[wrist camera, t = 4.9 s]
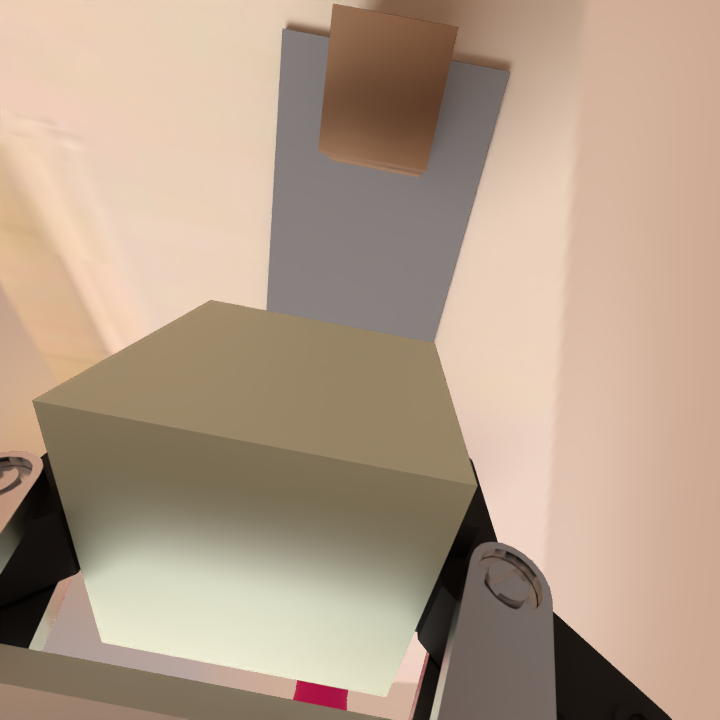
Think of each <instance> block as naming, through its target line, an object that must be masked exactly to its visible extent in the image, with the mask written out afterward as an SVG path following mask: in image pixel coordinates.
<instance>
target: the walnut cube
mask: <svg viewBox="0 0 720 720" xmlns="http://www.w3.org/2000/svg"><path fill="white" fill-rule="evenodd" d="M457 31H458V27H454V26H449V25H443V24H438V23H433V22H427V21H422V20H417V19H412V18H406V17H401V16H396V15H390V14H385V13H380V12H375V11H369V10H364V9H359V8H353V7H348V6H343V5H338V4H333V9H332V19H331V28H330V38H329V48H328V58H327V68H326V77H325V87H324V97H323V107H322V116H321V126H320V136H319V146H318V150H319V151H320V152H322V153H323V154H325V155H326V156H327V157H329V158H330V159H332V160H333V161H334V162H340V163H345V164H350V165H355V166H361V167H366V168H371V169H376V170H382V171H387V172H392V173H397V174H403V175H408V176H413V177H419V176H421V175H422V174H423V173H424V172H425V171H426V169H427V165H428V160H429V156H430V152H431V147H432V143H433V138H434V134H435V129H436V125H437V120H438V116H439V111H440V107H441V102H442V98H443V93H444V89H445V84H446V80H447V75H448V71H449V66H450V62H451V57H452V53H453V48H454V44H455V40H456V35H457Z"/></svg>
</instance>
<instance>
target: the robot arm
mask: <svg viewBox="0 0 720 720" xmlns="http://www.w3.org/2000/svg"><path fill="white" fill-rule="evenodd" d="M469 459H470V458H469ZM470 462H471V465H472V469H473V472H474V475H475V479H476V482H477V485H478V486H477V488H476V491H475V493H474V495H473V498H472V500H471V502H470V504H469V507H468V509H467V511H466V514H465V516H464V518H463V521H462V523H461V525H460V528H459V530H458V532H457V534H456V537H455V539H454V541H453V544H452V546H451V548H450V551H449V553H448V555H447V558H446V560H445V562H444V564H443V567H442V569H441V571H440V574H439V576H438V578H437V581H436V583H435V585H434V588H433V590H432V592H431V595H430V597H429V599H428V601H427V604H426V606H425V608H424V611H423V613H422V615H421V618H420V620H419V622H418V625H417V627H416V629H415V631H416V632H417V633H418V640H419V641H420V643H421V644H422V645H423V647H424V648H425V649H426V650H427V653H426V656H425V660H424V664H423V668H422V671H421V675H420V679H419V683H418V686H417V690H416V694H415V698H414V702H413V705H412V709H411V713H410V717H409V720H672V719H671V718H670V717H669V716H668V715H667V714H666V713H665V712H664V711H663V710H662V709H661V708H659V707H658V706H657V705H656V704H655V703H654V702H653V701H652V700H651V699H649V698H648V697H647V696H646V695H645V694H644V693H643V692H641V690H639V689H638V688H637V687H636V686H635V685H634V684H633V683H632V682H631V681H629V680H628V679H627V678H626V677H625V676H624V675H623V674H622V673H621V672H619V671H618V670H617V669H616V668H615V667H614V666H613V665H612V664H611V663H610V662H608V661H607V660H606V659H605V658H604V657H603V656H602V655H601V654H600V653H598V652H597V651H596V650H595V649H594V648H593V647H592V646H591V645H590V644H588V643H587V642H586V641H585V640H584V639H583V638H582V637H581V636H580V635H578V634H577V633H576V632H575V631H574V630H573V629H572V628H570V626H568V625H567V624H566V623H565V622H564V621H563V620H562V619H561V618H560V617H559V616H557V615H556V614H555V613H554V612H553V605H552V596H551V591H550V587H549V585H548V583H547V581H546V579H545V577H544V575H543V574H542V572H541V571H540V570H539V569H538V567H537V566H536V565H535V564H534V563H533V562H532V561H531V560H530V559H529V558H528V557H527V556H526V555H524V554H523V553H521V552H520V551H518V550H517V549H515V548H513V547H511V546H508V545H506V544H503V543H498V541H497V538H496V535H495V532H494V529H493V525H492V522H491V519H490V516H489V512H488V509H487V506H486V503H485V500H484V496H483V493H482V490H481V487H480V484H479V480H478V477H477V474H476V471H475V467H474V464H473V462H472V460H471V459H470ZM80 570H81V568H80V564H79V561H78V557H77V554H76V551H75V547H74V544H73V540H72V537H71V533H70V530H69V526H68V523H67V519H66V516H65V512H64V509H63V505H62V502H61V498H60V495H59V491H58V488H57V485H56V481H55V478H54V474H53V471H52V467H51V464H50V460H49V457H48V453H46V454H44V455H43V456H42V457H40V458H39V457H38V456H37V455H36V454H32V453H29V452H22V451H10V452H2V453H0V720H391V719H386V718H381V717H376V716H371V715H366V714H360V713H356V712H351V711H346V710H341V709H336V708H331V707H326V706H320V705H315V704H310V703H305V702H300V701H295V700H290V699H285V698H280V697H275V696H270V695H265V694H260V693H255V692H250V691H245V690H240V689H234V688H229V687H224V686H219V685H214V684H209V683H203V682H198V681H193V680H188V679H182V678H177V677H173V676H167V675H162V674H157V673H151V672H147V671H141V670H136V669H131V668H126V667H121V666H115V665H110V664H105V663H99V662H94V661H89V660H84V659H79V658H73V657H68V656H63V655H57V654H53V653H47V652H42V650H43V647H44V645H45V643H46V640H47V638H48V636H49V633H50V631H51V628H52V626H53V624H54V621H55V619H56V616H57V614H58V612H59V609H60V607H61V605H62V602H63V600H64V597H65V595H66V592H67V590H68V588H69V585H70V583H71V581H72V577H73V575H75V574H77V573H78V572H79V571H80Z"/></svg>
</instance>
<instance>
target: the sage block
mask: <svg viewBox="0 0 720 720" xmlns="http://www.w3.org/2000/svg"><path fill="white" fill-rule="evenodd" d="M33 405H34V408H35V411H36V415H37V418H38V422H39V425H40V429H41V432H42V436H43V439H44V443H45V446H46V450H47V453H48V457H49V460H50V464H51V467H52V471H53V474H54V478H55V481H56V485H57V488H58V491H59V495H60V498H61V502H62V505H63V509H64V512H65V516H66V519H67V523H68V526H69V530H70V533H71V537H72V540H73V544H74V547H75V551H76V554H77V557H78V561H79V564H80V568H81V571H82V574H83V578H84V582H85V585H86V589H87V592H88V596H89V599H90V603H91V606H92V609H93V613H94V616H95V620H96V624H97V626H98V630H99V634H100V637H101V641H102V642H103V643H109V644H114V645H119V646H124V647H129V648H135V649H139V650H145V651H150V652H155V653H160V654H166V655H171V656H176V657H181V658H186V659H191V660H196V661H202V662H207V663H212V664H217V665H223V666H228V667H233V668H238V669H243V670H248V671H255V672H259V673H264V674H269V675H274V676H279V677H285V678H290V679H295V680H300V681H305V682H311V683H316V684H321V685H326V686H331V687H336V688H342V689H347V690H352V691H357V692H363V693H368V694H373V695H378V696H383V697H386V696H387V694H388V692H389V689H390V687H391V685H392V682H393V680H394V678H395V675H396V673H397V671H398V668H399V666H400V664H401V661H402V659H403V657H404V655H405V652H406V650H407V648H408V645H409V643H410V641H411V638H412V636H413V634H414V631H415V629H416V627H417V625H418V622H419V620H420V618H421V615H422V613H423V611H424V608H425V606H426V604H427V601H428V599H429V597H430V595H431V592H432V590H433V588H434V585H435V583H436V581H437V578H438V576H439V574H440V571H441V569H442V567H443V564H444V562H445V560H446V558H447V555H448V553H449V551H450V548H451V546H452V544H453V541H454V539H455V537H456V534H457V532H458V530H459V528H460V525H461V523H462V521H463V518H464V516H465V514H466V511H467V509H468V507H469V504H470V502H471V500H472V498H473V495H474V493H475V491H476V488H477V486H478V485H477V482H476V479H475V475H474V472H473V469H472V465H471V462H470V459H469V455H468V452H467V449H466V445H465V442H464V439H463V435H462V432H461V429H460V425H459V422H458V419H457V416H456V412H455V409H454V406H453V402H452V399H451V396H450V392H449V389H448V386H447V382H446V379H445V376H444V372H443V369H442V366H441V362H440V359H439V356H438V352H437V349H436V346H435V343H433V342H428V341H422V340H417V339H412V338H407V337H402V336H396V335H391V334H386V333H381V332H375V331H370V330H365V329H360V328H354V327H349V326H344V325H339V324H334V323H328V322H323V321H318V320H313V319H307V318H302V317H297V316H292V315H286V314H281V313H276V312H271V311H265V310H260V309H255V308H250V307H245V306H239V305H234V304H229V303H224V302H218V301H213V300H210V301H208V302H207V303H205V304H203V305H201V306H199V307H198V308H196V309H194V310H192V311H190V312H189V313H187V314H185V315H183V316H182V317H180V318H178V319H176V320H174V321H173V322H171V323H169V324H167V325H166V326H164V327H162V328H160V329H158V330H157V331H155V332H153V333H151V334H150V335H148V336H146V337H144V338H142V339H141V340H139V341H137V342H135V343H134V344H132V345H130V346H128V347H126V348H125V349H123V350H121V351H119V352H118V353H116V354H114V355H112V356H110V357H109V358H107V359H105V360H103V361H101V362H100V363H98V364H96V365H94V366H93V367H91V368H89V369H87V370H85V371H84V372H82V373H80V374H78V375H77V376H75V377H73V378H71V379H69V380H68V381H66V382H64V383H62V384H61V385H59V386H57V387H55V388H53V389H52V390H50V391H48V392H46V393H45V394H43V395H41V396H39V397H37V398H36V399H34V400H33Z"/></svg>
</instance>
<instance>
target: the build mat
mask: <svg viewBox="0 0 720 720" xmlns="http://www.w3.org/2000/svg"><path fill="white" fill-rule="evenodd" d="M329 38H330V37H325V36H320V35H314V34H309V33H304V32H298V31H293V30H288V29H283V30H282V48H281V65H280V83H279V100H278V118H277V136H276V153H275V171H274V188H273V206H272V223H271V241H270V259H269V276H268V294H267V311H271V312H276V313H281V314H286V315H292V316H297V317H302V318H307V319H313V320H318V321H323V322H328V323H334V324H339V325H344V326H349V327H354V328H360V329H365V330H370V331H375V332H381V333H386V334H391V335H396V336H402V337H407V338H412V339H417V340H422V341H428V342H434V338H435V335H436V331H437V328H438V324H439V321H440V317H441V314H442V310H443V307H444V303H445V300H446V296H447V292H448V289H449V285H450V282H451V278H452V275H453V271H454V268H455V264H456V261H457V257H458V254H459V250H460V247H461V243H462V240H463V236H464V233H465V229H466V226H467V222H468V219H469V215H470V212H471V208H472V205H473V201H474V198H475V194H476V191H477V187H478V184H479V180H480V176H481V173H482V169H483V166H484V162H485V159H486V155H487V152H488V148H489V145H490V141H491V138H492V134H493V131H494V127H495V124H496V120H497V117H498V113H499V110H500V106H501V103H502V99H503V96H504V92H505V89H506V85H507V82H508V78H509V75H510V71H504V70H499V69H494V68H488V67H483V66H478V65H473V64H467V63H462V62H457V61H452V60H451V62H450V66H449V71H448V75H447V80H446V84H445V89H444V93H443V98H442V102H441V107H440V111H439V116H438V120H437V125H436V129H435V134H434V138H433V143H432V147H431V152H430V156H429V160H428V165H427V169H426V171H425V172H424V173H423V174H422V175H421V176H419V177H413V176H408V175H403V174H397V173H392V172H387V171H382V170H376V169H371V168H366V167H361V166H355V165H350V164H345V163H340V162H334V161H333V160H332V159H330V158H329V157H327V156H326V155H325V154H323V153H322V152H320V151H319V150H318V146H319V136H320V126H321V116H322V107H323V97H324V87H325V77H326V68H327V58H328V48H329Z"/></svg>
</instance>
